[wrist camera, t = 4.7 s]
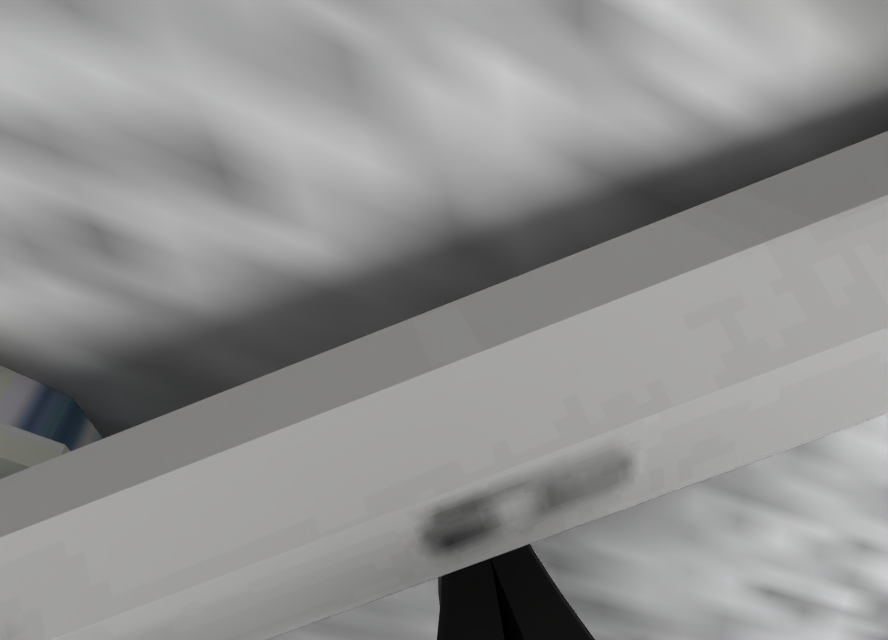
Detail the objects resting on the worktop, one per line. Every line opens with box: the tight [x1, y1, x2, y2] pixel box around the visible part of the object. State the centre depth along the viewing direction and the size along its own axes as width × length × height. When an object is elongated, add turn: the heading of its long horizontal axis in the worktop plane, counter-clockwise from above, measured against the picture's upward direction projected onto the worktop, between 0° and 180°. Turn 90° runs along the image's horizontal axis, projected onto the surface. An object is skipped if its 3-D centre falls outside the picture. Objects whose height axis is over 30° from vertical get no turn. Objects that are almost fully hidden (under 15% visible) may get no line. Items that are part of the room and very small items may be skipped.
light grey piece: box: [0, 131, 888, 640], centre depth 9 cm, size 5×7×25 cm
